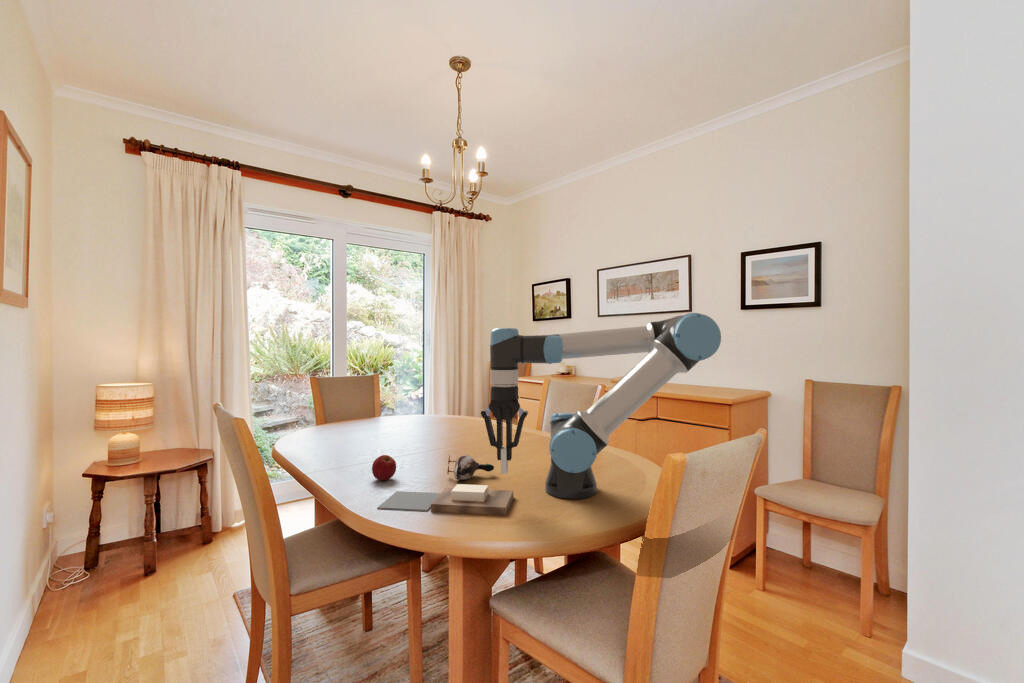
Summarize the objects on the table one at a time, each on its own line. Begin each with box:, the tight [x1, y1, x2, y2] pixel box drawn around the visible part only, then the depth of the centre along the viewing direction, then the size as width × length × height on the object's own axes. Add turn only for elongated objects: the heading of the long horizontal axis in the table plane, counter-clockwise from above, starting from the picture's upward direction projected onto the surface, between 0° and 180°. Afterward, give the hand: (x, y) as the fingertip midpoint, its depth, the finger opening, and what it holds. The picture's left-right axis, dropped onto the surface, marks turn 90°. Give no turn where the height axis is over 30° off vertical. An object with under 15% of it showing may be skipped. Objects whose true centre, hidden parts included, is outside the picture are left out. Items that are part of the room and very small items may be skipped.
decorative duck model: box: [447, 454, 495, 481], centre depth 147 cm, size 15×8×15 cm
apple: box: [371, 454, 397, 482], centre depth 148 cm, size 8×8×8 cm
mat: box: [376, 490, 441, 512], centre depth 128 cm, size 14×13×1 cm
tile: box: [451, 483, 489, 502], centre depth 125 cm, size 9×6×2 cm, turn 81°
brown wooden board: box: [430, 487, 514, 516], centre depth 125 cm, size 20×13×2 cm, turn 81°
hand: (504, 472), depth 124 cm, fingers closed
